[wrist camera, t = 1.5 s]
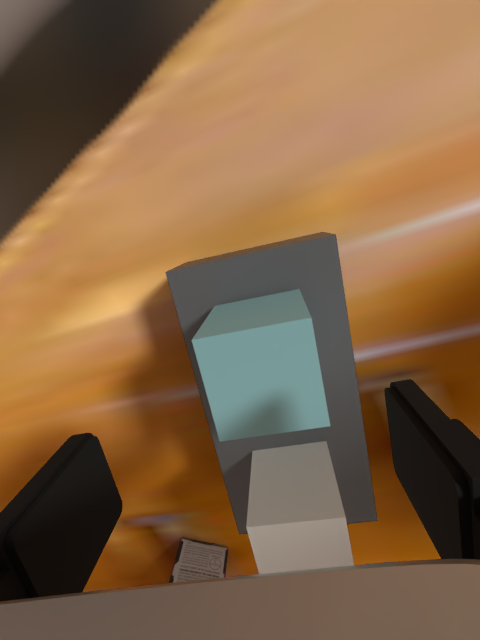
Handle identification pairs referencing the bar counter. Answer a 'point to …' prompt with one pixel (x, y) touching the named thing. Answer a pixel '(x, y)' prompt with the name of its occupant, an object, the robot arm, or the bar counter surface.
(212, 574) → the candy bar box
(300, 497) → the block
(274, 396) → the teal plug
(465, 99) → the bar counter surface
